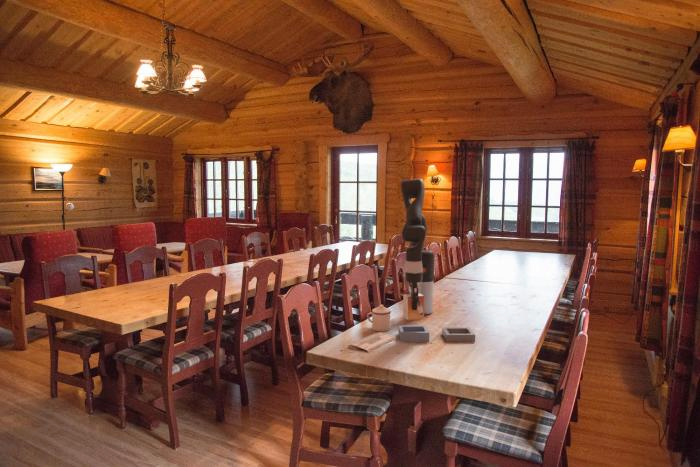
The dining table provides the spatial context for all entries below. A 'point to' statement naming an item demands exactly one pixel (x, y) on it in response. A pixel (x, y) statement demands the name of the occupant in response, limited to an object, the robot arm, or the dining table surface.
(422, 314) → the small box
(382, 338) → the newspaper
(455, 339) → the frame
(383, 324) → the teacup with lid
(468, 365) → the dining table surface
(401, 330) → the port sleeve
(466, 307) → the dining table surface
